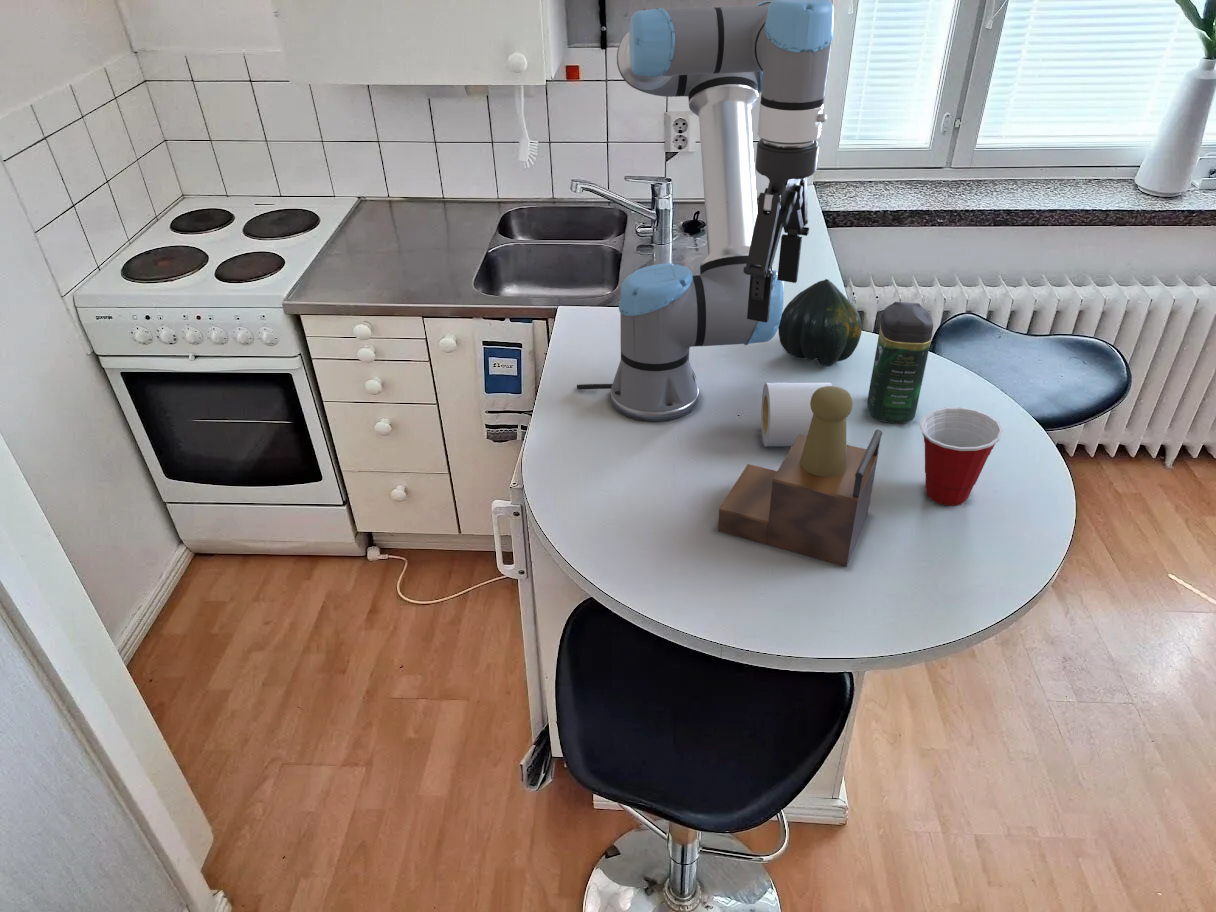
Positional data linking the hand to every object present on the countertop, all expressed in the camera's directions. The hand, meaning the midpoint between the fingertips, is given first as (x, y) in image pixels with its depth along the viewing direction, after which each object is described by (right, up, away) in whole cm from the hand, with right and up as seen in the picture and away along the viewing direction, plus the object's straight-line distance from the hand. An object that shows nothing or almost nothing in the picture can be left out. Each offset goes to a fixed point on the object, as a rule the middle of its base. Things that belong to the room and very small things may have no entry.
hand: (773, 299), depth 119 cm
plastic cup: (+27, -27, +9) cm, 39 cm away
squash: (+17, -2, +46) cm, 49 cm away
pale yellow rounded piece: (+6, -23, -4) cm, 24 cm away
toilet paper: (+8, -19, +22) cm, 30 cm away
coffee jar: (+25, -14, +29) cm, 41 cm away
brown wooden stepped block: (+4, -31, +4) cm, 31 cm away
